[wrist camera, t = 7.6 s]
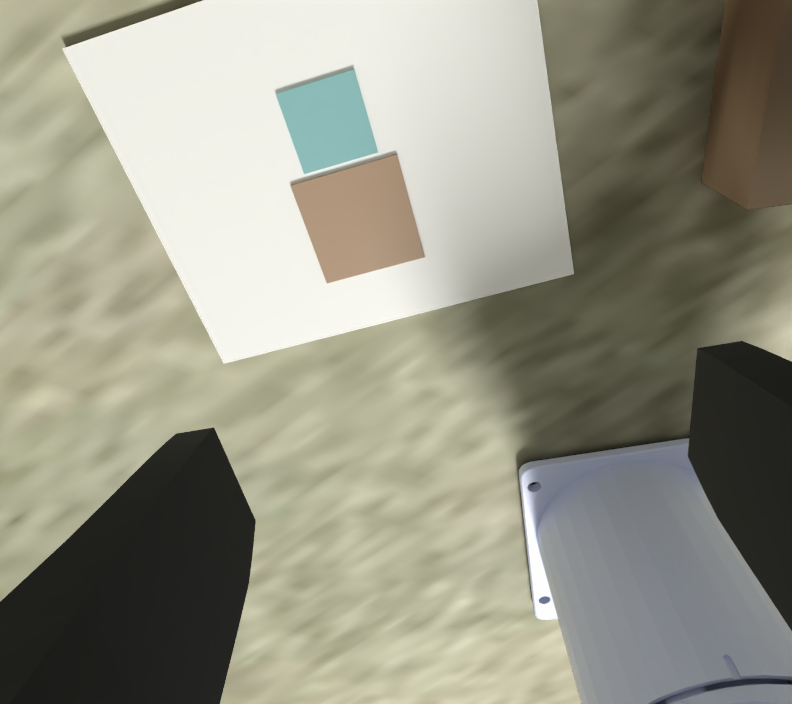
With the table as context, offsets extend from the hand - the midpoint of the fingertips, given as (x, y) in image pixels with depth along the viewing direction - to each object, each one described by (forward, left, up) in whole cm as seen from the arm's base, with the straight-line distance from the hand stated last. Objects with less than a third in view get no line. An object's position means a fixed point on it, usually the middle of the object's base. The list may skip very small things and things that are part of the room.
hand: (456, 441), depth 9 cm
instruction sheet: (+2, +2, -10) cm, 11 cm away
